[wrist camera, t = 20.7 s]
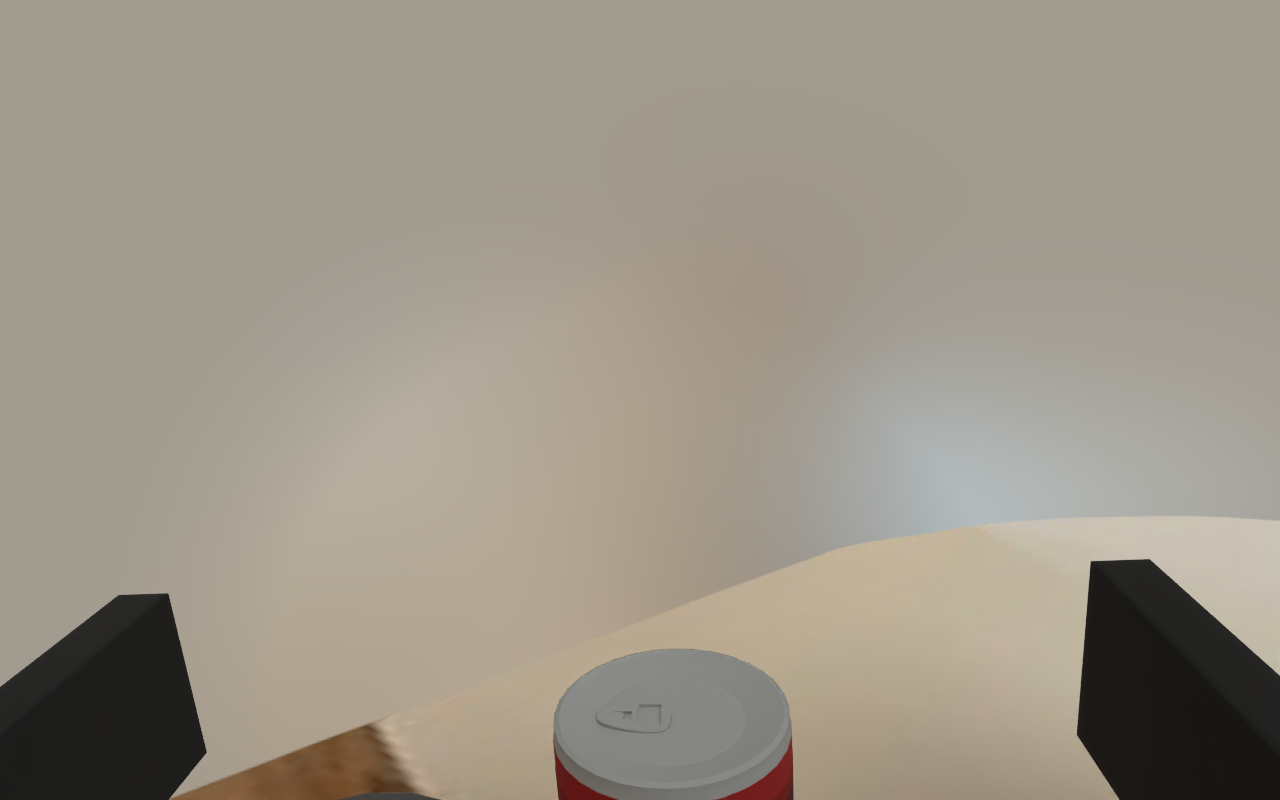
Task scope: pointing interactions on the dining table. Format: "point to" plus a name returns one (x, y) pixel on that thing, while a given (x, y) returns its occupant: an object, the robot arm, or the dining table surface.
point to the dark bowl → (389, 796)
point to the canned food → (674, 731)
